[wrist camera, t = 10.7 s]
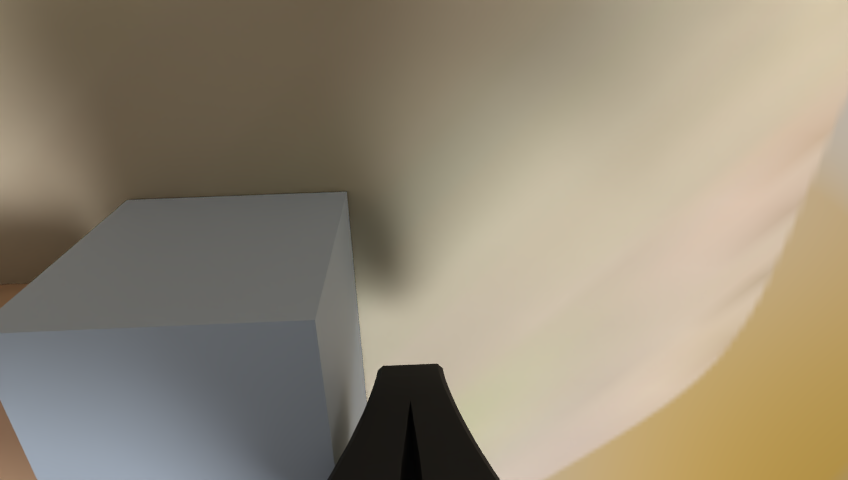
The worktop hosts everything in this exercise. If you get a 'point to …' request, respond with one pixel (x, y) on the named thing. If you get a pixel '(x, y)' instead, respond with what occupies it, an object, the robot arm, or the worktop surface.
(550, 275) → the worktop surface
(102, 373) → the blue-grey block
